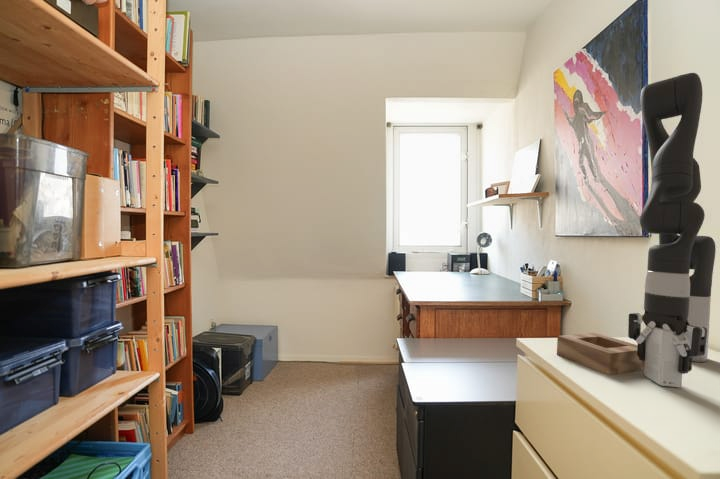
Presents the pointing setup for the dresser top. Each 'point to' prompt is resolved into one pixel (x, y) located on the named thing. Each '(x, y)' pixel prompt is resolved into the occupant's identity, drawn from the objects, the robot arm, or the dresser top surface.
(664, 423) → the dresser top surface
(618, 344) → the socket block
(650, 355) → the skincare box
